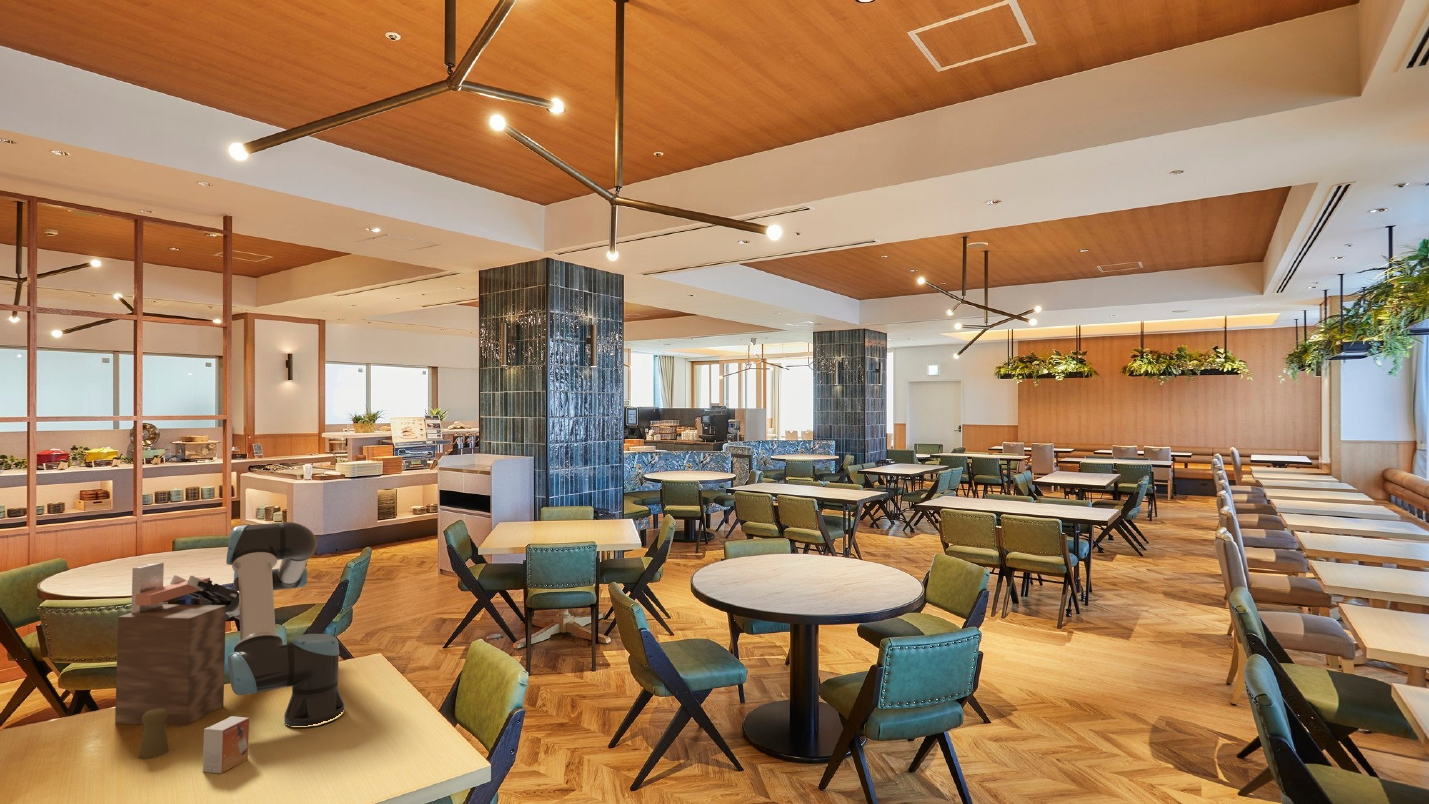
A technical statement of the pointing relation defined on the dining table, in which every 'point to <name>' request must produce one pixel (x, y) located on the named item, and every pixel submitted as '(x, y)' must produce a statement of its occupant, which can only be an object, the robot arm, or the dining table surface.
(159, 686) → the wooden block pedestal
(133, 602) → the bookend
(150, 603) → the terracotta clay brick
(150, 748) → the cork
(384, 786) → the dining table surface
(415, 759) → the dining table surface
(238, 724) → the small box
